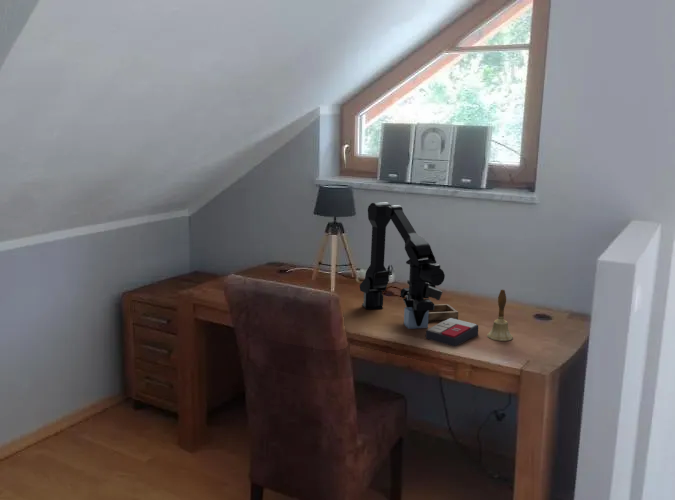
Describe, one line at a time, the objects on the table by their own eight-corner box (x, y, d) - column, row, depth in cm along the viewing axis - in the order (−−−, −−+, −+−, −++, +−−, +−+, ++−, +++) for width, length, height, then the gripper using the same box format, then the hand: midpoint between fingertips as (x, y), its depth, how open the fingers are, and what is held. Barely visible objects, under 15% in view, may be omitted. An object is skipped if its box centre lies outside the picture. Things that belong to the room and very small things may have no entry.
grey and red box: (425, 328, 215) (449, 315, 226) (425, 341, 216) (449, 327, 227) (455, 336, 208) (479, 322, 219) (454, 349, 209) (478, 335, 220)
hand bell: (482, 337, 218) (485, 290, 214) (494, 331, 224) (498, 285, 220) (505, 343, 212) (508, 295, 209) (517, 337, 218) (521, 290, 215)
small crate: (408, 328, 224) (408, 311, 223) (403, 324, 229) (404, 307, 228) (427, 327, 226) (428, 310, 224) (423, 323, 230) (423, 306, 229)
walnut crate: (425, 321, 232) (426, 313, 232) (416, 313, 242) (416, 305, 241) (457, 320, 235) (458, 311, 234) (447, 311, 244) (448, 303, 244)
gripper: (450, 285, 217) (447, 330, 220) (431, 271, 234) (429, 313, 238) (417, 286, 214) (415, 332, 218) (400, 272, 232) (399, 315, 235)
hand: (415, 323), depth 227 cm, fingers open, 6 cm apart
